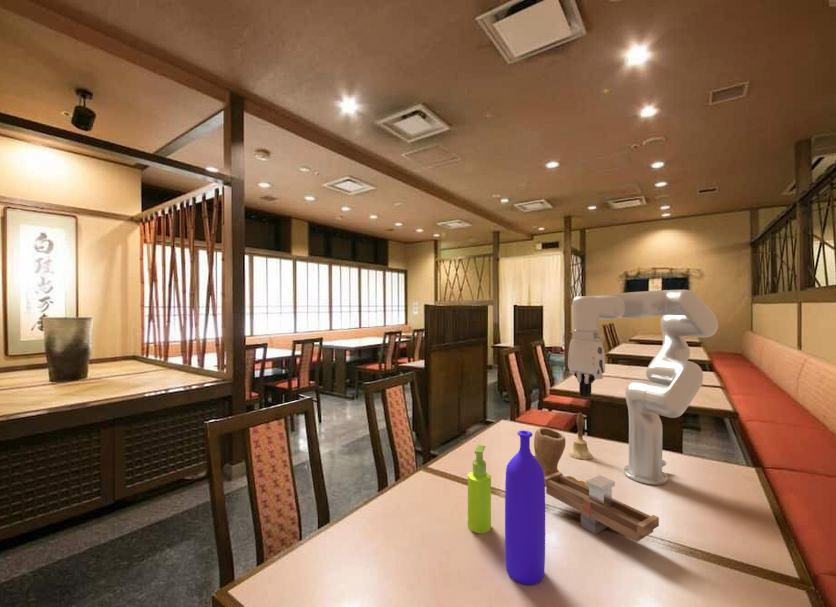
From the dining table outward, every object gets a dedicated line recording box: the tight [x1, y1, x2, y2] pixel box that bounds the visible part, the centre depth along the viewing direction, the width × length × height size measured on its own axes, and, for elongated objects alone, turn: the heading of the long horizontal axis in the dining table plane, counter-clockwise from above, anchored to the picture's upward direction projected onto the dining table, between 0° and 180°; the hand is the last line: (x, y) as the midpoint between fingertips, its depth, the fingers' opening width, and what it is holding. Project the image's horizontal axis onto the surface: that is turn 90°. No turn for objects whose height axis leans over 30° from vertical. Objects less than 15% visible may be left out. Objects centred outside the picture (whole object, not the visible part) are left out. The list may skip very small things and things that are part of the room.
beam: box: [544, 471, 660, 543], centre depth 97 cm, size 7×27×8 cm, turn 32°
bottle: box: [504, 430, 546, 586], centre depth 80 cm, size 8×8×30 cm
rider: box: [585, 474, 616, 508], centre depth 95 cm, size 6×4×6 cm, turn 122°
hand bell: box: [568, 412, 593, 461], centre depth 142 cm, size 8×8×16 cm
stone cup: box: [533, 427, 566, 477], centre depth 126 cm, size 15×12×15 cm
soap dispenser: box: [467, 444, 492, 534], centre depth 97 cm, size 6×7×20 cm
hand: (585, 395), depth 115 cm, fingers closed
